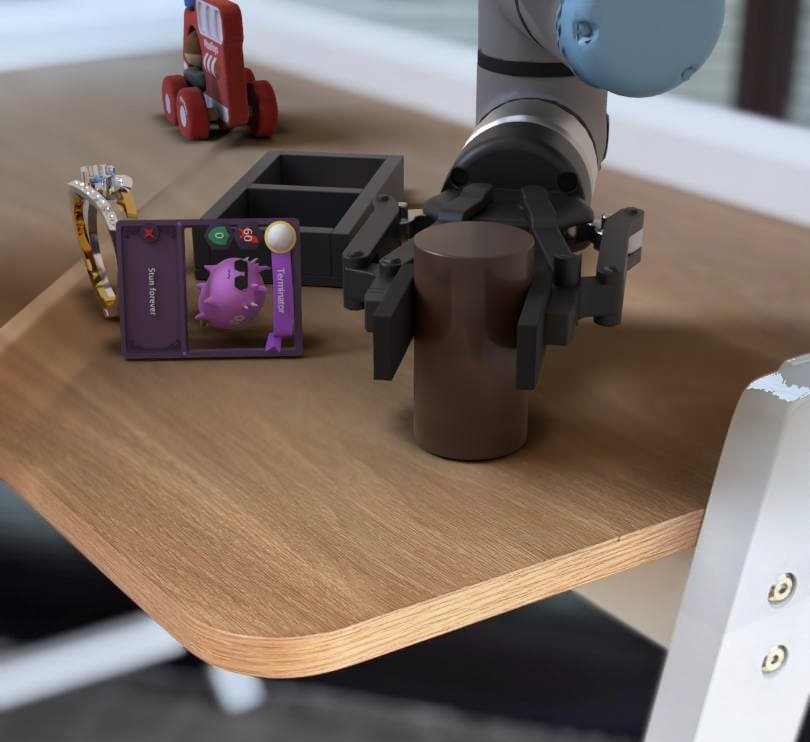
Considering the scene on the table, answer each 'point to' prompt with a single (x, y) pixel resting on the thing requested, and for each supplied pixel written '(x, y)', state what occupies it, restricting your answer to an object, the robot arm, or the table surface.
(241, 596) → the table surface
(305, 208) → the grid
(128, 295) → the game card
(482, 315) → the brown wooden cylinder
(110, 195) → the ring
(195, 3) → the toy fire truck
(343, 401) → the table surface
